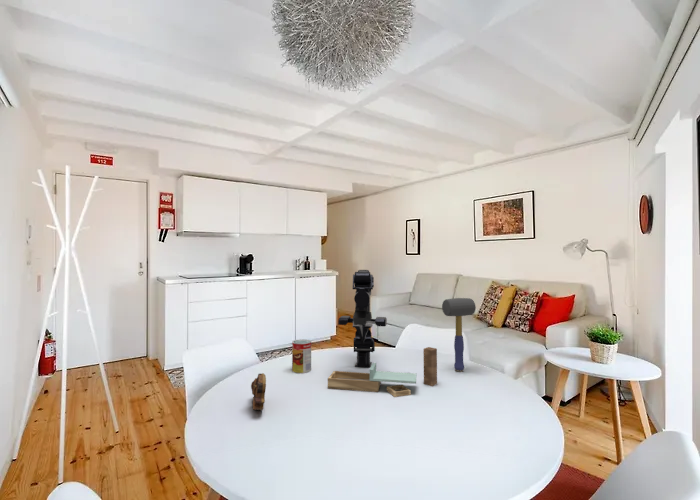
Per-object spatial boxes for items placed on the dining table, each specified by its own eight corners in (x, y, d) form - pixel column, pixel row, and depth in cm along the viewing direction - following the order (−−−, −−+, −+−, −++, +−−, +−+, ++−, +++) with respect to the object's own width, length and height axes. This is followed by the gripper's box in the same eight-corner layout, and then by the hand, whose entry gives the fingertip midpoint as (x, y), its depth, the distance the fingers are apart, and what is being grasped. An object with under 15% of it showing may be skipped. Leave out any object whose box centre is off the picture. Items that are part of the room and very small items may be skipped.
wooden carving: (248, 399, 118) (248, 368, 118) (262, 397, 120) (262, 367, 120) (253, 420, 103) (253, 385, 103) (269, 417, 104) (269, 383, 105)
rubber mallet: (466, 366, 153) (466, 296, 153) (477, 372, 146) (477, 298, 146) (441, 369, 149) (440, 297, 150) (451, 375, 142) (450, 299, 143)
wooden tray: (333, 380, 136) (333, 370, 136) (380, 383, 133) (380, 373, 133) (327, 388, 127) (327, 378, 127) (377, 392, 124) (377, 382, 124)
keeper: (386, 390, 125) (386, 386, 125) (402, 388, 127) (402, 384, 127) (394, 397, 120) (394, 392, 120) (410, 394, 121) (410, 390, 122)
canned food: (299, 366, 153) (299, 338, 154) (314, 369, 150) (314, 340, 150) (288, 371, 146) (288, 342, 147) (304, 374, 143) (304, 344, 143)
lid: (372, 373, 133) (372, 362, 133) (416, 375, 130) (416, 365, 130) (369, 380, 125) (369, 369, 125) (416, 383, 121) (416, 372, 122)
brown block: (423, 384, 132) (423, 348, 132) (428, 381, 134) (428, 346, 135) (432, 386, 129) (431, 350, 130) (437, 383, 132) (436, 348, 132)
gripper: (334, 305, 136) (334, 346, 135) (383, 306, 132) (384, 349, 132) (341, 301, 147) (341, 340, 146) (386, 302, 143) (387, 342, 143)
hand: (362, 342), depth 141 cm, fingers closed
